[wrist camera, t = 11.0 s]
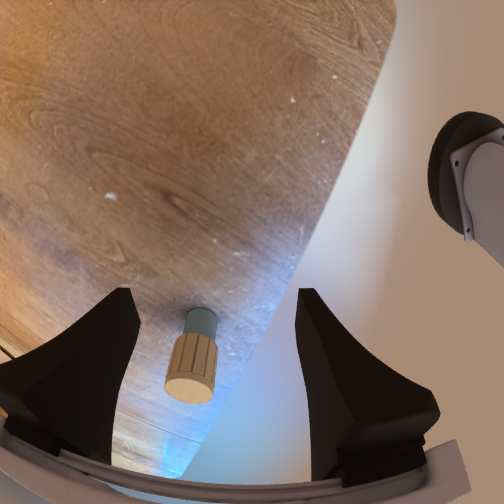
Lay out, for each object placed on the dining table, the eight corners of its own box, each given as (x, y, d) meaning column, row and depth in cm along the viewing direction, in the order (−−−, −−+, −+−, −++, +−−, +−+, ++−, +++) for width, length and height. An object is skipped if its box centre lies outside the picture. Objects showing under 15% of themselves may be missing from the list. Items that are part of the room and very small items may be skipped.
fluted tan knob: (226, 353, 23) (222, 398, 19) (193, 364, 24) (185, 407, 20) (199, 327, 21) (191, 374, 17) (166, 340, 22) (154, 384, 18)
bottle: (223, 323, 26) (218, 371, 21) (199, 333, 26) (191, 379, 22) (205, 303, 24) (196, 351, 20) (181, 314, 25) (168, 361, 20)
